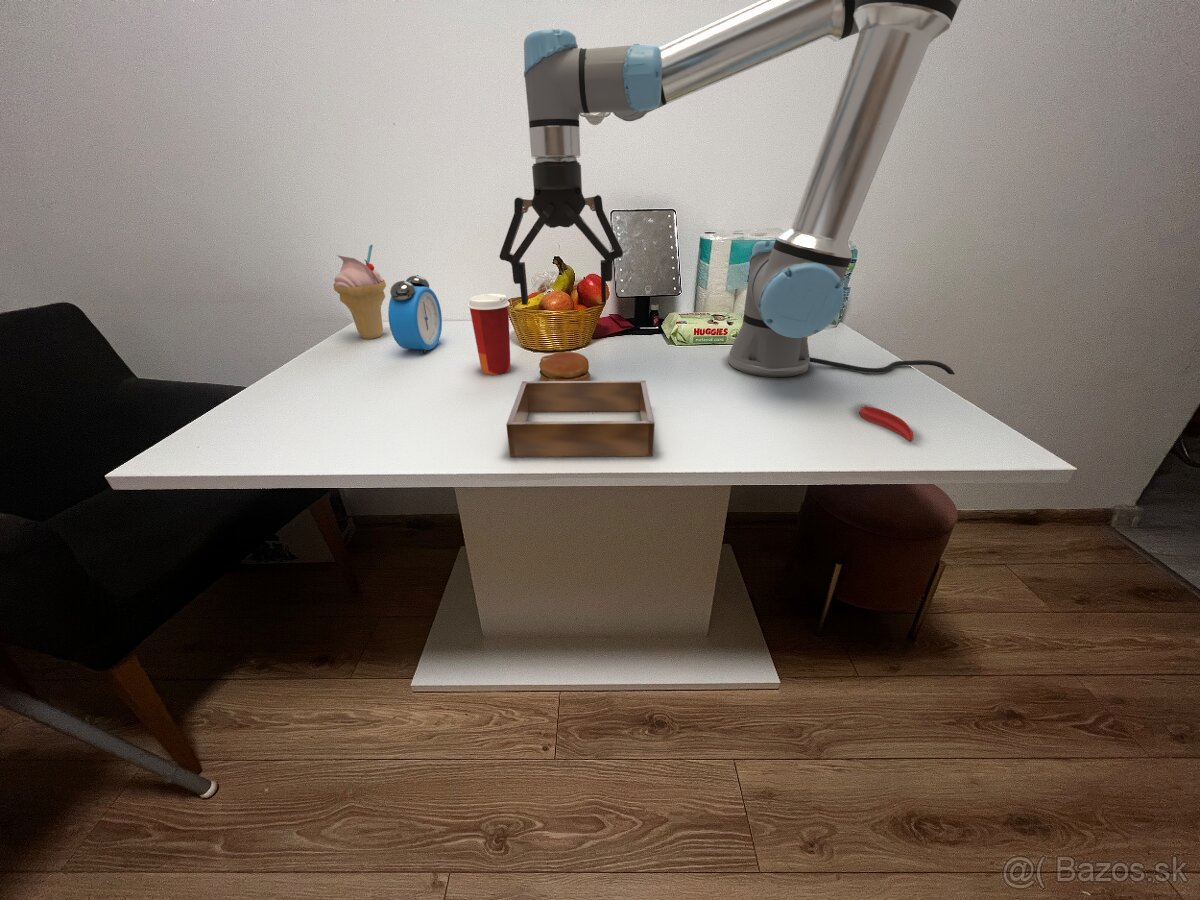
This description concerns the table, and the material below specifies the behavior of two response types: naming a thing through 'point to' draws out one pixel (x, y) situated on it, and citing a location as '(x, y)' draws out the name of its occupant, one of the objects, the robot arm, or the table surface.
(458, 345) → the table surface
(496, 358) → the paper cup
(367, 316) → the ice cream cone
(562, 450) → the wooden box
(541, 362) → the burger
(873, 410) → the cayenne pepper
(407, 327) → the alarm clock
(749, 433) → the table surface
